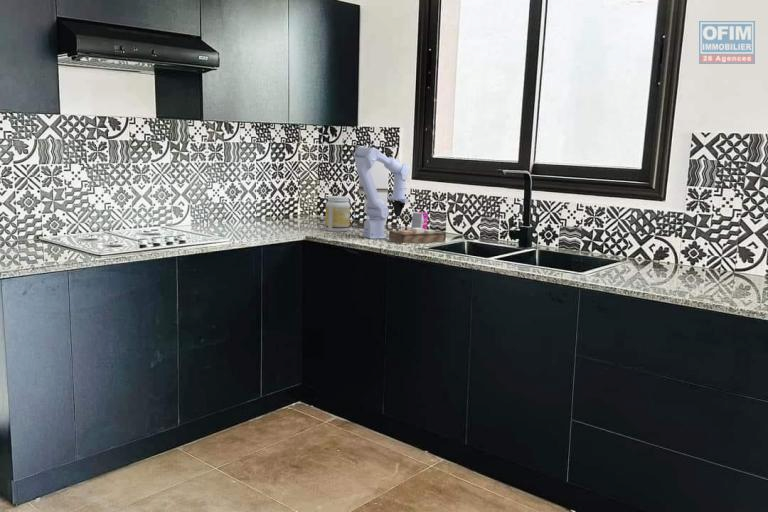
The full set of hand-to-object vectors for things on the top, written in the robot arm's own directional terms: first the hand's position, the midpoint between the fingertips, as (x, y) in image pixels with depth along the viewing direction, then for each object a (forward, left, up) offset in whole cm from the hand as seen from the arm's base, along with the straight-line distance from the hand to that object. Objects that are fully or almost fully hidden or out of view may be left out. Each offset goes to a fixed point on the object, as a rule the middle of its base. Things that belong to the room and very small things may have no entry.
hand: (397, 216), depth 337 cm
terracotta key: (-7, -18, -8) cm, 21 cm away
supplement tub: (-22, +21, -10) cm, 32 cm away
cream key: (0, -18, -7) cm, 19 cm away
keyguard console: (0, -18, -9) cm, 20 cm away
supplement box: (+12, -2, -10) cm, 16 cm away
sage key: (+6, -18, -8) cm, 21 cm away
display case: (+1, +26, -10) cm, 28 cm away
